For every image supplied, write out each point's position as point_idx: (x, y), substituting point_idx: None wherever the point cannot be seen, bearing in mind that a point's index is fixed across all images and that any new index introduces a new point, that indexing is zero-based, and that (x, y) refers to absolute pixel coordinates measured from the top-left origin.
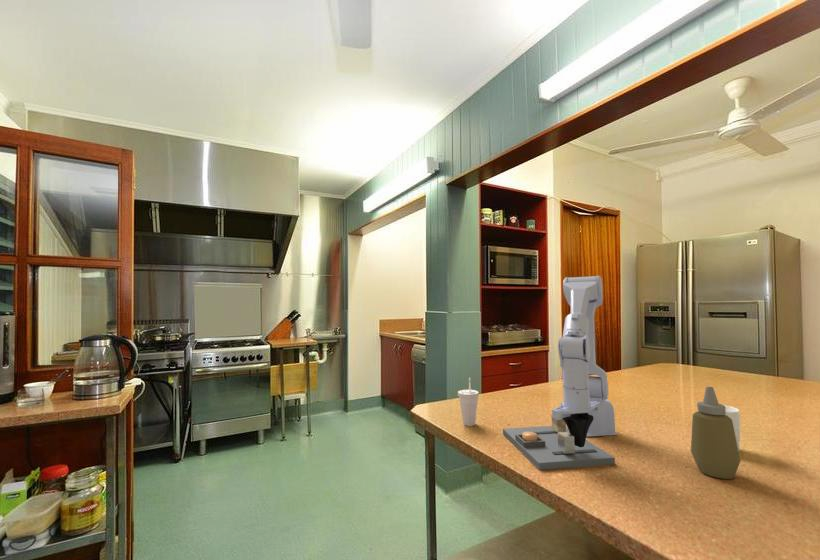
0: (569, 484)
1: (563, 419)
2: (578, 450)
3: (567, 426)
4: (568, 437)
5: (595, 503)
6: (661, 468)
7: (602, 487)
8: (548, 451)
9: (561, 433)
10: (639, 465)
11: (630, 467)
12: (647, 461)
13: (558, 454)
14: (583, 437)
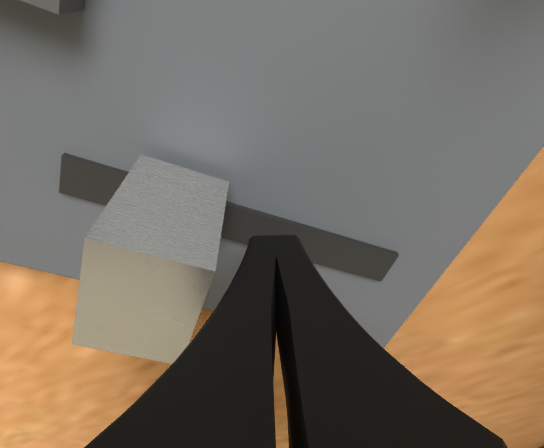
0: (7, 347)
1: (110, 431)
2: (283, 226)
3: (187, 350)
4: (123, 345)
5: (27, 432)
6: (486, 396)
7: (131, 396)
8: (49, 116)
9: (105, 281)
10: (452, 360)
11: (398, 356)
12: (527, 353)
13: (95, 198)
14: (281, 361)
